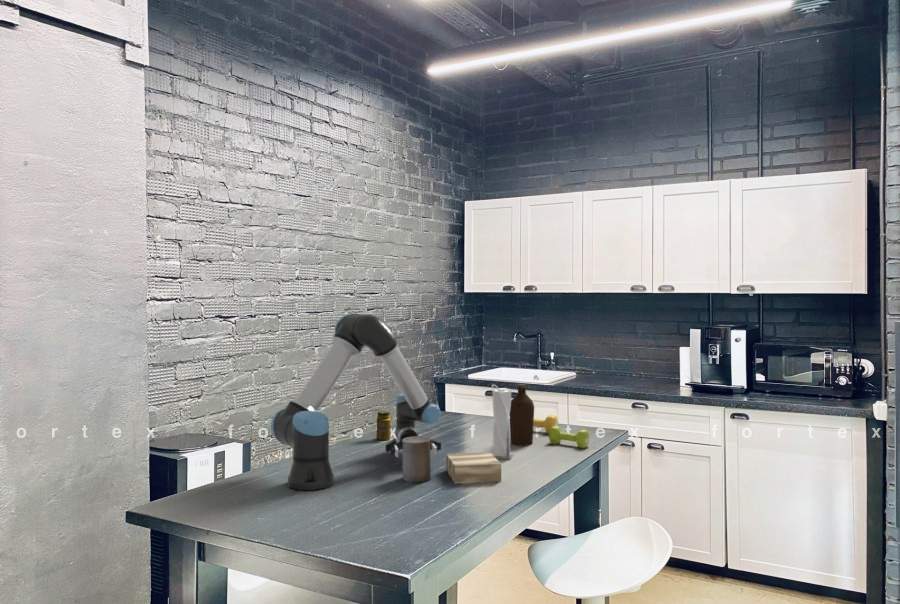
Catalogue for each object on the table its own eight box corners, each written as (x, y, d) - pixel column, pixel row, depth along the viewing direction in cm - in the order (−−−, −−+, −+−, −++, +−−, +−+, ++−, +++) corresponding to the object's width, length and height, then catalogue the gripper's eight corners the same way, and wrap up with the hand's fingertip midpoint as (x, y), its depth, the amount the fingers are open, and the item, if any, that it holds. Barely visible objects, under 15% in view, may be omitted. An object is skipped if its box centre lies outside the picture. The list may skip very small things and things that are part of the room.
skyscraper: (488, 458, 246) (488, 385, 245) (493, 452, 253) (493, 382, 253) (510, 459, 243) (510, 386, 243) (514, 454, 251) (514, 383, 250)
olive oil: (537, 445, 266) (538, 385, 266) (514, 446, 264) (514, 386, 263) (528, 439, 277) (528, 382, 276) (505, 440, 274) (505, 383, 274)
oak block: (501, 481, 215) (501, 463, 215) (454, 483, 212) (454, 465, 212) (489, 468, 231) (489, 452, 231) (446, 470, 228) (446, 453, 228)
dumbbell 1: (513, 431, 294) (513, 413, 294) (521, 427, 302) (521, 410, 302) (552, 436, 284) (552, 417, 284) (559, 432, 292) (559, 414, 292)
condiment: (394, 438, 278) (394, 411, 277) (384, 443, 270) (384, 414, 270) (379, 437, 280) (379, 410, 280) (369, 441, 273) (369, 413, 272)
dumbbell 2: (591, 446, 265) (591, 429, 265) (583, 450, 259) (583, 432, 259) (555, 441, 275) (555, 424, 275) (546, 444, 268) (547, 427, 268)
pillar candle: (435, 476, 220) (435, 433, 220) (422, 484, 211) (422, 439, 211) (410, 473, 224) (410, 431, 224) (397, 481, 215) (396, 437, 215)
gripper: (440, 447, 246) (451, 461, 225) (376, 449, 241) (380, 464, 220) (440, 427, 246) (451, 440, 225) (376, 430, 241) (380, 443, 220)
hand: (416, 452), depth 222 cm, fingers open, 13 cm apart
